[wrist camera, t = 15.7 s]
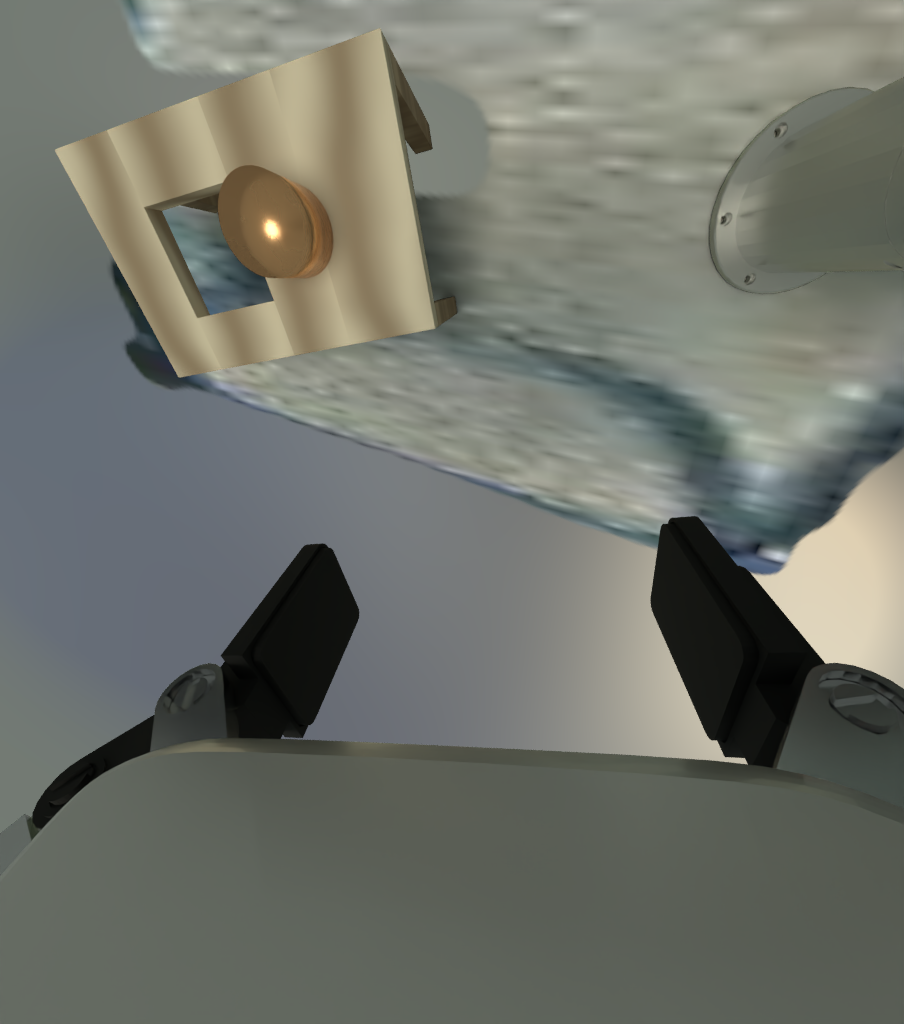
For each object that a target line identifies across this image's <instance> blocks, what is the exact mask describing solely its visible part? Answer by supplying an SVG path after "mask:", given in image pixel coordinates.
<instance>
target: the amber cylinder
mask: <svg viewBox="0 0 904 1024" xmlns="http://www.w3.org/2000/svg"><path fill="white" fill-rule="evenodd" d="M218 215H219V221H220V225H221V229H222V232H223V235H224V237H225V239H226V241H227V243H228V245H229V247H230V249H231V250H232V252H233V253H234V255H235V256H236V257H237V258H238V260H239V261H240V262H241V263H242V264H243V265H244V266H246V267H247V268H248V269H249V270H251V271H252V272H254V273H256V274H258V275H260V276H263V277H267V278H311V277H314V276H316V275H318V274H320V273H321V272H322V271H323V270H324V269H325V268H326V266H327V265H328V263H329V261H330V258H331V255H332V251H333V231H332V226H331V222H330V219H329V216H328V214H327V212H326V210H325V208H324V206H323V205H322V203H321V202H320V201H319V199H318V198H317V197H316V196H315V195H314V194H313V193H312V192H311V191H310V190H308V189H307V188H305V187H304V186H302V185H300V184H298V183H295V182H293V181H291V180H289V179H287V178H284V177H282V176H280V175H278V174H276V173H273V172H271V171H269V170H267V169H265V168H262V167H259V166H254V165H245V166H240V167H238V168H236V169H234V170H233V171H231V172H230V173H229V174H228V175H227V177H226V178H225V180H224V181H223V184H222V186H221V189H220V192H219V198H218Z"/></svg>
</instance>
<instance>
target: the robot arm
mask: <svg viewBox="0 0 904 1024" xmlns="http://www.w3.org/2000/svg"><path fill="white" fill-rule="evenodd" d="M775 130H776V131H777V135H776V137H774V131H775ZM721 217H723V218H724V221H723V223H722V224H720V220H721ZM710 249H711V255H712V259H713V261H714V264H715V266H716V268H717V270H718V272H719V273H720V274H721V276H722V277H723V278H724V279H725V280H726V281H727V282H728V283H730V284H731V285H732V286H734V287H735V288H738V289H740V290H743V291H746V292H751V293H759V294H774V293H779V292H785V291H789V290H792V289H795V288H798V287H801V286H804V285H806V284H808V283H810V282H812V281H814V280H816V279H817V278H819V277H821V276H823V275H824V274H826V273H827V272H852V271H899V270H904V77H903V78H901V79H899V80H897V81H895V82H893V83H891V84H889V85H887V86H885V87H883V88H881V89H879V90H877V91H875V92H874V91H872V90H869V89H865V88H855V87H847V88H841V89H834V90H829V91H827V92H824V93H821V94H819V95H816V96H813V97H811V98H809V99H807V100H805V101H803V102H802V103H800V104H798V105H796V106H794V107H793V108H791V109H790V110H788V111H787V112H785V113H784V114H782V115H781V116H780V117H778V118H777V119H775V120H774V121H773V122H772V123H771V124H769V125H768V126H767V127H766V128H765V129H764V130H763V131H762V132H760V133H759V134H758V135H757V136H756V137H755V139H754V140H753V141H752V142H751V143H750V144H749V145H748V147H747V148H746V149H745V150H744V151H743V152H742V154H741V155H740V157H739V158H738V160H737V161H736V163H735V164H734V166H733V167H732V169H731V170H730V172H729V174H728V175H727V177H726V179H725V181H724V183H723V185H722V187H721V189H720V192H719V194H718V197H717V200H716V203H715V206H714V209H713V214H712V219H711V224H710ZM746 276H747V280H746V281H745V282H744V280H745V277H746ZM651 608H652V611H653V614H654V616H655V618H656V621H657V623H658V625H659V628H660V630H661V632H662V634H663V637H664V639H665V641H666V643H667V646H668V648H669V650H670V653H671V655H672V657H673V659H674V662H675V664H676V666H677V669H678V671H679V673H680V675H681V678H682V680H683V682H684V685H685V687H686V689H687V691H688V694H689V696H690V698H691V700H692V703H693V705H694V707H695V710H696V712H697V714H698V716H699V719H700V721H701V723H702V725H703V728H704V730H705V732H706V734H707V736H708V737H709V739H711V740H717V741H718V743H719V745H720V747H721V750H722V752H723V754H724V756H725V757H737V758H738V757H739V758H745V759H746V761H747V763H748V765H747V764H737V763H729V762H719V761H709V760H695V759H679V758H665V757H651V756H636V755H620V754H619V755H618V754H600V753H598V754H597V753H581V752H580V753H579V752H561V751H542V750H522V749H502V748H481V747H480V748H479V747H459V746H438V745H416V744H393V743H370V742H346V741H345V742H344V741H321V740H320V741H319V740H296V739H295V740H294V739H281V737H282V735H284V737H295V738H303V736H304V734H305V732H306V729H307V727H308V725H311V724H312V723H313V722H314V720H315V718H316V716H317V714H318V712H319V709H320V707H321V704H322V702H323V700H324V698H325V695H326V693H327V691H328V688H329V686H330V684H331V682H332V679H333V677H334V675H335V672H336V670H337V668H338V665H339V663H340V661H341V658H342V656H343V654H344V651H345V649H346V647H347V645H348V642H349V640H350V638H351V636H352V633H353V631H354V629H355V626H356V624H357V622H358V619H359V609H358V606H357V604H356V602H355V599H354V597H353V595H352V592H351V590H350V588H349V586H348V584H347V581H346V579H345V577H344V574H343V572H342V570H341V567H340V565H339V563H338V561H337V558H336V556H335V554H334V552H333V550H332V549H331V548H328V547H327V545H325V544H310V545H305V546H304V547H303V548H302V549H301V550H300V552H299V553H298V554H297V556H296V557H295V558H294V560H293V561H292V562H291V564H290V565H289V566H288V568H287V569H286V570H285V572H284V573H283V574H282V575H281V577H280V578H279V580H278V581H277V582H276V583H275V585H274V586H273V588H272V589H271V590H270V591H269V593H268V594H267V595H266V597H265V598H264V599H263V601H262V602H261V603H260V604H259V606H258V607H257V609H256V610H255V611H254V612H253V614H252V615H251V616H250V618H249V619H248V620H247V622H246V623H245V624H244V626H243V627H242V628H241V630H240V631H239V632H238V633H237V635H236V636H235V637H234V639H233V640H232V641H231V643H230V644H229V645H228V647H227V648H226V649H225V651H224V652H223V654H222V655H221V656H222V658H223V659H224V661H225V662H224V663H223V665H222V666H221V667H219V666H218V665H216V664H210V663H208V664H203V665H199V666H197V667H195V668H192V669H190V670H189V671H187V672H185V673H184V674H182V675H181V676H179V677H178V678H177V679H176V680H174V681H173V682H172V683H171V684H170V685H169V686H168V687H167V689H165V691H164V692H163V693H162V695H161V696H160V698H159V700H158V702H157V705H156V708H155V715H153V716H151V717H150V718H148V719H147V720H145V721H143V722H142V723H140V724H138V725H136V726H135V727H133V728H132V729H130V730H128V731H127V732H125V733H123V734H122V735H120V736H118V737H117V738H115V739H113V740H112V741H110V742H108V743H107V744H105V745H103V746H102V747H100V748H98V749H97V750H95V751H93V752H92V753H90V754H88V755H87V756H85V757H83V758H82V759H80V760H79V761H77V762H76V763H74V764H73V765H71V766H70V767H69V768H67V769H66V770H65V771H64V772H63V773H61V774H60V775H59V776H58V777H57V778H56V779H55V780H54V781H53V783H52V784H51V785H50V786H49V787H48V788H47V789H46V790H45V792H44V793H43V795H42V796H41V798H40V799H39V801H38V802H37V805H36V807H35V809H34V811H33V816H32V817H30V816H28V815H26V814H24V815H23V816H21V817H20V818H19V819H18V820H16V821H15V822H14V823H13V824H11V825H10V826H9V827H8V828H6V829H5V830H4V831H3V832H1V833H0V1024H904V689H903V688H901V687H900V686H898V685H897V684H895V683H894V682H892V681H891V680H889V679H886V678H885V677H882V676H880V675H878V674H876V673H874V672H872V671H869V670H866V669H863V668H859V667H856V666H853V665H847V664H839V663H829V664H825V663H824V661H823V660H822V659H821V658H820V657H819V655H818V654H817V653H816V652H815V651H814V649H813V648H812V647H811V646H810V644H809V643H808V642H807V641H806V640H805V638H804V637H803V636H802V635H801V634H800V632H799V631H798V630H797V629H796V628H795V626H794V625H793V624H792V623H791V622H790V621H789V619H788V618H787V617H786V615H785V614H784V613H783V612H782V611H781V609H780V608H779V607H778V606H777V605H776V604H775V602H774V601H773V600H772V599H771V597H770V596H769V595H768V594H767V593H766V591H765V590H764V589H763V588H762V586H761V585H760V584H759V583H758V582H757V581H756V579H755V578H754V577H753V576H752V574H751V573H750V572H749V571H748V570H747V569H746V568H744V567H741V566H737V565H736V563H735V562H734V561H733V560H732V558H731V557H730V556H729V555H728V553H727V552H726V551H725V550H724V548H723V547H722V546H721V545H720V543H719V542H718V541H717V540H716V538H715V537H714V536H713V535H712V533H711V532H710V531H709V530H708V529H707V527H706V526H705V525H704V524H703V522H702V521H701V520H700V519H699V518H698V517H696V516H691V517H678V518H671V519H670V520H669V522H668V524H663V525H662V526H661V530H660V537H659V544H658V551H657V558H656V565H655V572H654V579H653V586H652V593H651Z"/></svg>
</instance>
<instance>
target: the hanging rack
mask: <svg viewBox="0 0 904 1024" xmlns="http://www.w3.org/2000/svg"><path fill="white" fill-rule="evenodd" d="M405 140H406V141H407V143H408V144H409V145H410V147H411V148H412V150H413V151H414V152H415V153H416V154H418V153H421V152H424V151H428V150H431V149H432V143H431V136H430V129H429V124H428V122H427V120H426V118H425V116H424V114H423V112H422V110H421V108H420V106H419V104H418V102H417V100H416V98H415V96H414V94H413V92H412V90H411V88H410V86H409V84H408V82H407V80H406V78H405V76H404V75H403V73H402V71H401V69H400V67H399V65H398V63H397V61H396V59H395V57H394V55H393V53H392V51H391V49H390V47H389V45H388V43H387V41H386V39H385V37H384V35H383V33H382V31H381V29H380V28H379V29H376V30H374V31H371V32H368V33H366V34H363V35H360V36H358V37H355V38H352V39H350V40H347V41H344V42H342V43H339V44H336V45H333V46H331V47H328V48H325V49H323V50H320V51H317V52H315V53H312V54H309V55H307V56H304V57H301V58H299V59H296V60H293V61H291V62H288V63H285V64H283V65H280V66H277V67H275V68H272V69H269V70H267V71H264V72H261V73H259V74H256V75H253V76H251V77H248V78H245V79H243V80H240V81H237V82H235V83H232V84H229V85H227V86H224V87H221V88H218V89H216V90H213V91H210V92H208V93H205V94H203V95H200V96H197V97H194V98H192V99H189V100H186V101H184V102H181V103H178V104H176V105H173V106H171V107H168V108H165V109H162V110H160V111H157V112H154V113H152V114H149V115H146V116H144V117H141V118H138V119H136V120H133V121H130V122H128V123H125V124H122V125H120V126H117V127H114V128H111V129H109V130H106V131H104V132H101V133H98V134H96V135H93V136H90V137H87V138H85V139H82V140H79V141H77V142H74V143H71V144H69V145H66V146H63V147H61V148H58V149H56V150H55V152H56V153H57V155H58V157H59V158H60V161H61V163H62V164H63V166H64V168H65V170H66V172H67V173H68V175H69V177H70V179H71V181H72V183H73V185H74V186H75V188H76V190H77V192H78V194H79V195H80V197H81V199H82V201H83V203H84V205H85V206H86V208H87V210H88V212H89V214H90V216H91V217H92V219H93V221H94V223H95V225H96V227H97V228H98V230H99V232H100V234H101V236H102V237H103V239H104V241H105V243H106V245H107V247H108V249H109V250H110V252H111V254H112V256H113V258H114V260H115V261H116V263H117V265H118V267H119V269H120V271H121V272H122V274H123V276H124V278H125V280H126V282H127V283H128V285H129V287H130V289H131V291H132V293H133V294H134V296H135V298H136V300H137V302H138V304H139V305H140V307H141V309H142V311H143V313H144V315H145V316H146V318H147V320H148V322H149V324H150V326H151V327H152V329H153V331H154V333H155V335H156V337H157V338H158V340H159V342H160V344H161V346H162V348H163V349H164V351H165V353H166V355H167V357H168V359H169V360H170V362H171V364H172V366H173V368H174V370H175V371H176V373H177V375H178V377H184V376H190V375H195V374H200V373H205V372H211V371H216V370H221V369H226V368H231V367H237V366H242V365H247V364H252V363H258V362H263V361H268V360H273V359H279V358H284V357H289V356H294V355H300V354H305V353H310V352H315V351H320V350H326V349H331V348H336V347H341V346H347V345H352V344H357V343H362V342H368V341H373V340H378V339H383V338H388V337H394V336H399V335H404V334H409V333H415V332H420V331H425V330H430V329H435V328H437V327H438V326H440V325H441V324H442V323H444V322H445V321H447V320H448V319H450V318H451V317H452V316H454V315H455V314H457V307H456V301H455V296H454V297H450V298H445V299H440V300H437V301H434V299H433V293H432V288H431V282H430V276H429V271H428V265H427V260H426V254H425V248H424V243H423V237H422V232H421V226H420V220H419V215H418V209H417V203H416V198H415V192H414V187H413V181H412V175H411V170H410V165H409V159H408V153H407V147H406V142H405ZM245 165H254V166H259V167H262V168H265V169H267V170H269V171H271V172H273V173H276V174H278V175H280V176H282V177H284V178H287V179H289V180H291V181H293V182H295V183H298V184H300V185H302V186H304V187H305V188H307V189H308V190H310V191H311V192H312V193H313V194H314V195H315V196H316V197H317V198H318V199H319V201H320V202H321V203H322V205H323V206H324V208H325V210H326V212H327V214H328V216H329V219H330V222H331V226H332V231H333V251H332V255H331V258H330V261H329V263H328V265H327V266H326V268H325V269H324V270H323V271H322V272H321V273H320V274H318V275H316V276H314V277H311V278H267V277H265V278H266V281H267V283H268V286H269V289H270V291H271V294H272V297H273V299H274V301H271V302H267V303H262V304H258V305H254V306H249V307H245V308H240V309H236V310H232V311H227V312H223V313H218V314H214V315H210V314H209V312H208V310H207V307H206V305H205V303H204V301H203V299H202V297H201V294H200V292H199V290H198V288H197V286H196V284H195V281H194V279H193V277H192V275H191V273H190V271H189V269H188V266H187V264H186V262H185V260H184V258H183V256H182V253H181V251H180V249H179V247H178V245H177V243H176V240H175V238H174V236H173V234H172V232H171V230H170V228H169V225H168V223H167V221H166V219H165V217H164V215H163V212H162V211H163V210H166V209H169V208H173V207H176V206H179V205H181V206H186V207H190V208H195V209H199V210H203V211H208V212H212V213H217V212H218V198H219V192H220V189H221V186H222V184H223V181H224V180H225V178H226V177H227V175H228V174H229V173H230V172H231V171H233V170H234V169H236V168H238V167H240V166H245Z"/></svg>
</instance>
